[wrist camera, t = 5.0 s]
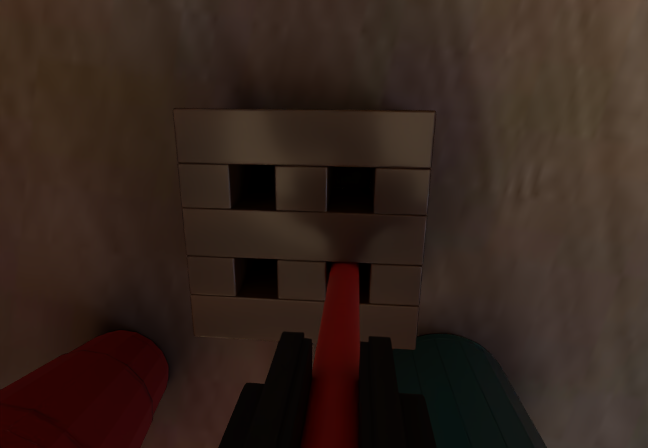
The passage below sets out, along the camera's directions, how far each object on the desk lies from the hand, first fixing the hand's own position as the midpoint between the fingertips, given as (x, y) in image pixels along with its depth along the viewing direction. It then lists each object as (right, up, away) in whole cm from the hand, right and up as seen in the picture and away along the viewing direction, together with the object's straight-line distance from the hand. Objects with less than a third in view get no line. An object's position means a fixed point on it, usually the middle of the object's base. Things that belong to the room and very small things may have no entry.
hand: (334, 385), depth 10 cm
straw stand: (-1, +5, +12) cm, 13 cm away
